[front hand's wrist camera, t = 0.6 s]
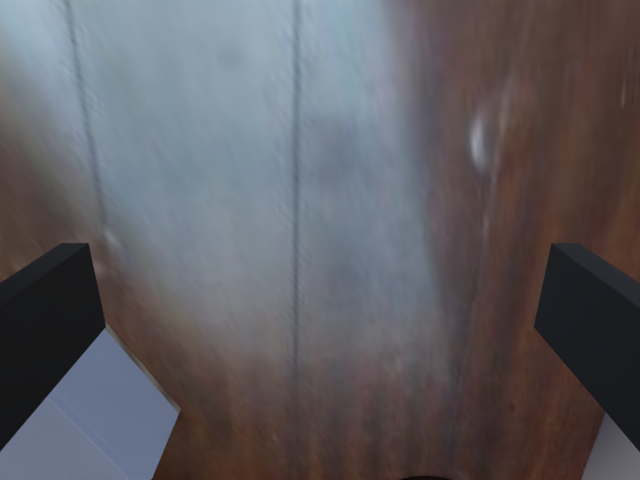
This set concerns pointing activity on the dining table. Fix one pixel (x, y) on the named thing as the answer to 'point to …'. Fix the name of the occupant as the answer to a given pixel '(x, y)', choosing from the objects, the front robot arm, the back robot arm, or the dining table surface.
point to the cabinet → (95, 421)
